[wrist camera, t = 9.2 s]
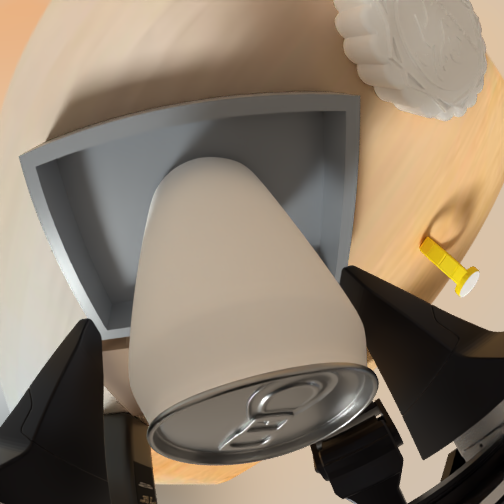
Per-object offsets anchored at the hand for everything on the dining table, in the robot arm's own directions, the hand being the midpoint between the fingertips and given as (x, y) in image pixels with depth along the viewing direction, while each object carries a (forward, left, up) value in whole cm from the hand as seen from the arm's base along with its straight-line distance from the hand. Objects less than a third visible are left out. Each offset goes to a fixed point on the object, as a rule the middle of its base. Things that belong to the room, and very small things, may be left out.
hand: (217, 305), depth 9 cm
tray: (0, 0, -8) cm, 8 cm away
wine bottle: (+15, +25, -8) cm, 31 cm away
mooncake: (-15, -11, -8) cm, 20 cm away
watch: (-20, +7, -8) cm, 22 cm away
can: (-1, 0, -8) cm, 8 cm away
